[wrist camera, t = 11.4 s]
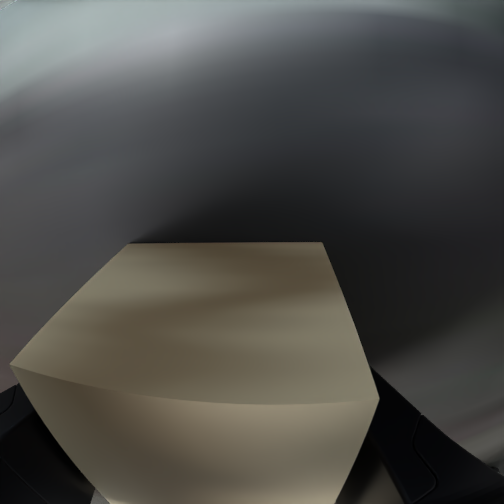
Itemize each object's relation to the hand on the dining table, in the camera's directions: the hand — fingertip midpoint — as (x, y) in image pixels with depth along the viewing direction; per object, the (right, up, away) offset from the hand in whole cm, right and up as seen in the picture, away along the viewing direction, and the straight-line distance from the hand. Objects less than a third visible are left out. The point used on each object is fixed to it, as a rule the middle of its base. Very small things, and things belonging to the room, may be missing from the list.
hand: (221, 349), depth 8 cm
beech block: (0, 0, +1) cm, 1 cm away
